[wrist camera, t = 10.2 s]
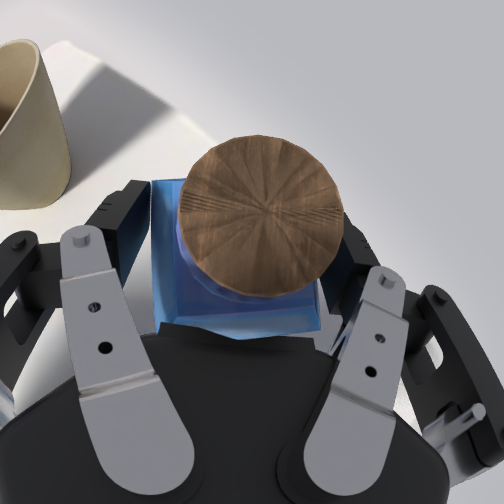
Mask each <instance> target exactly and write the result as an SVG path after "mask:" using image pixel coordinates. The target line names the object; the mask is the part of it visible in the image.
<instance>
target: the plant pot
mask: <svg viewBox="0 0 504 504" xmlns="http://www.w3.org/2000/svg"><path fill="white" fill-rule="evenodd" d="M70 175H71V162H70V156H69V150H68V144H67V139H66V135H65V130H64V126H63V122H62V118H61V115H60V111H59V107H58V104H57V100H56V97H55V94H54V91H53V88H52V85H51V82H50V79H49V76H48V74H47V71H46V68H45V65H44V62H43V59H42V56H41V54H40V51H39V48H38V46H37V44H36V43H34V42H33V41H31V40H27V39H19V40H14V41H10V42H8V43H5V44H3V45H1V46H0V210H28V209H38V208H44V207H47V206H49V205H51V204H52V203H54V202H55V201H56V200H57V199H58V198H59V197H60V196H61V195H62V193H63V192H64V190H65V189H66V187H67V185H68V182H69V179H70Z"/></svg>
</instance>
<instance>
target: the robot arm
mask: <svg viewBox="0 0 504 504" xmlns="http://www.w3.org/2000/svg"><path fill="white" fill-rule="evenodd" d="M150 202H151V184H150V182H148V181H138V180H131V181H130V182H129V183H128V184H127V185H126V187H125V188H124V189H123V190H122V191H115V192H114V193H112V194H110V195H108V196H107V197H106V198H105V199H104V201H103V202H102V204H100V205H99V207H98V208H97V210H95V212H94V213H93V214H92V215H91V217H90V218H89V219H88V221H87V222H86V223H85V224H84V225H81V226H76V227H73V228H71V229H69V230H67V231H66V232H65V233H64V234H63V235H62V237H61V239H60V242H57V243H47V244H39V242H38V237H37V235H36V234H35V233H34V232H32V231H19V232H16V233H14V234H12V235H10V236H8V237H7V238H6V239H5V240H4V241H3V242H2V243H1V244H0V504H447V499H448V495H449V490H450V488H451V487H453V486H455V485H457V484H459V483H461V482H463V481H465V480H469V479H472V478H474V477H476V476H478V475H480V474H482V473H484V472H485V471H487V470H489V469H491V468H493V467H494V466H496V465H497V464H498V463H500V462H501V461H503V460H504V389H503V387H502V385H501V383H500V381H499V379H498V377H497V375H496V373H495V371H494V369H493V367H492V365H491V363H490V361H489V360H488V358H487V356H486V354H485V352H484V350H483V348H482V347H481V345H480V343H479V342H478V340H477V338H476V336H475V335H474V333H473V331H472V330H471V328H470V326H469V325H468V323H467V321H466V320H465V318H464V317H463V315H462V313H461V312H460V310H459V309H458V307H457V306H456V304H455V303H454V301H453V300H452V298H451V297H450V296H449V294H448V293H447V292H445V291H444V290H443V289H441V288H439V287H437V286H434V285H428V286H426V287H425V288H424V290H423V291H422V294H421V295H419V294H416V293H414V292H411V291H409V290H406V285H405V282H404V281H403V279H402V278H401V277H400V276H399V275H398V274H397V273H395V272H394V271H393V270H391V269H389V268H386V267H382V266H381V265H380V263H379V262H378V260H377V258H376V256H375V254H374V253H373V251H372V249H371V247H370V245H369V243H367V240H366V238H365V237H364V235H363V233H362V232H361V231H360V230H359V229H357V228H356V227H355V226H353V225H352V223H351V222H350V220H349V218H348V216H347V215H346V213H345V212H344V225H343V236H342V239H341V242H340V245H339V248H338V251H337V254H336V257H335V258H334V260H333V261H332V262H331V264H330V265H329V266H328V267H327V269H326V270H325V271H324V273H323V274H322V275H321V277H319V278H320V282H321V285H322V289H323V292H324V296H325V299H326V303H327V307H328V310H329V314H335V315H342V318H343V321H342V323H341V325H340V326H339V329H338V331H337V333H336V336H335V338H334V340H333V342H332V345H331V347H330V349H329V351H328V353H324V352H321V351H319V350H315V345H314V340H313V338H304V337H289V336H271V337H264V338H256V339H247V340H236V339H233V338H230V337H227V336H223V335H220V334H217V333H214V332H211V331H208V330H206V329H203V328H200V327H194V326H186V325H179V324H173V323H166V322H161V323H160V327H159V331H158V333H151V334H145V335H140V336H139V334H138V331H137V329H136V326H135V323H134V321H133V318H132V315H131V313H130V310H129V307H128V305H127V302H126V299H125V296H124V293H123V290H122V289H123V287H124V285H125V282H126V280H127V277H128V275H129V273H130V270H131V268H132V266H133V264H134V261H135V259H136V257H137V254H138V252H139V250H140V248H141V246H142V243H143V241H144V239H145V237H146V235H147V233H148V229H149V225H150ZM14 291H15V293H16V296H17V298H18V299H17V300H16V301H15V303H14V304H13V306H12V307H11V309H10V310H9V312H8V313H7V315H6V316H5V318H4V307H5V304H6V302H7V301H8V299H9V298H10V296H11V295H12V294H13V292H14ZM55 308H63V314H64V321H65V327H66V333H67V339H68V344H69V349H70V354H71V359H72V364H73V368H74V373H75V375H74V376H73V377H71V378H70V379H68V380H67V381H66V382H64V383H63V384H61V385H60V386H59V387H57V388H56V389H54V390H53V391H52V392H50V393H49V394H47V395H46V396H44V397H43V398H42V399H40V400H39V401H37V402H36V403H35V404H33V405H32V406H30V407H29V408H28V409H26V410H25V411H23V412H22V413H20V414H19V415H18V416H16V417H15V413H14V397H13V395H12V391H13V389H14V387H15V384H16V382H17V380H18V378H19V376H20V374H21V372H22V370H23V368H24V365H25V363H26V361H27V359H28V357H29V356H30V354H31V352H32V350H33V348H34V346H35V344H36V342H37V340H38V338H39V337H40V335H41V333H42V331H43V329H44V328H45V326H46V324H47V322H48V321H49V319H50V317H51V316H52V314H53V312H54V310H55ZM433 336H435V338H436V340H437V342H438V343H439V345H440V347H441V349H442V352H443V362H442V364H441V365H440V367H439V368H438V369H437V370H436V368H435V366H434V364H433V362H432V359H431V357H430V355H429V353H428V351H427V349H426V347H425V345H426V344H427V343H428V342H429V340H430V339H431V338H432V337H433ZM400 376H401V378H402V381H403V383H404V386H405V388H406V391H407V394H408V396H409V399H410V402H411V404H412V407H413V410H414V412H415V415H416V418H417V421H418V424H419V427H420V429H421V432H422V436H420V435H419V434H418V433H417V432H416V431H415V430H414V429H413V428H412V427H411V426H410V425H409V424H408V423H407V422H405V421H404V420H403V419H402V418H401V417H400V416H399V415H398V414H397V413H396V412H395V411H394V410H393V407H394V402H395V398H396V394H397V389H398V385H399V380H400Z"/></svg>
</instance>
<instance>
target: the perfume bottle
mask: <svg viewBox="0 0 504 504" xmlns="http://www.w3.org/2000/svg"><path fill="white" fill-rule="evenodd" d="M343 225H344V209H343V206H342V203H341V199H340V196H339V192H338V189H337V186H336V184H335V183H334V181H333V180H332V178H331V176H330V175H329V173H328V172H327V170H326V169H325V167H324V166H323V165H322V164H321V163H320V162H319V161H318V160H316V159H315V158H314V157H313V156H312V155H311V154H309V153H308V152H307V151H306V150H305V149H303V148H301V147H299V146H297V145H294V144H292V143H290V142H288V141H286V140H284V139H280V138H274V137H268V136H262V135H254V136H245V137H238V138H233V139H231V140H228V141H226V142H224V143H222V144H220V145H217V146H215V147H213V148H211V149H210V150H209V151H208V152H207V153H206V154H205V155H204V156H203V157H201V158H200V159H199V160H198V161H197V162H196V163H195V164H194V165H193V167H192V168H191V170H190V172H189V174H188V176H187V178H185V179H168V180H153V181H152V187H151V258H152V284H153V301H154V316H155V328H156V333H158V331H159V327H160V323H161V322H166V323H173V324H179V325H186V326H194V327H200V328H203V329H206V330H208V331H211V332H214V333H217V334H220V335H223V336H227V337H230V338H233V339H247V338H257V337H267V336H277V335H285V334H294V333H302V332H309V331H317V330H321V326H320V311H319V298H318V285H317V279H318V278H319V277H321V275H322V274H323V273H324V271H325V270H326V269H327V267H328V266H329V265H330V264H331V262H332V261H333V260H334V258H335V257H336V254H337V251H338V248H339V245H340V242H341V239H342V236H343Z"/></svg>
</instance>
